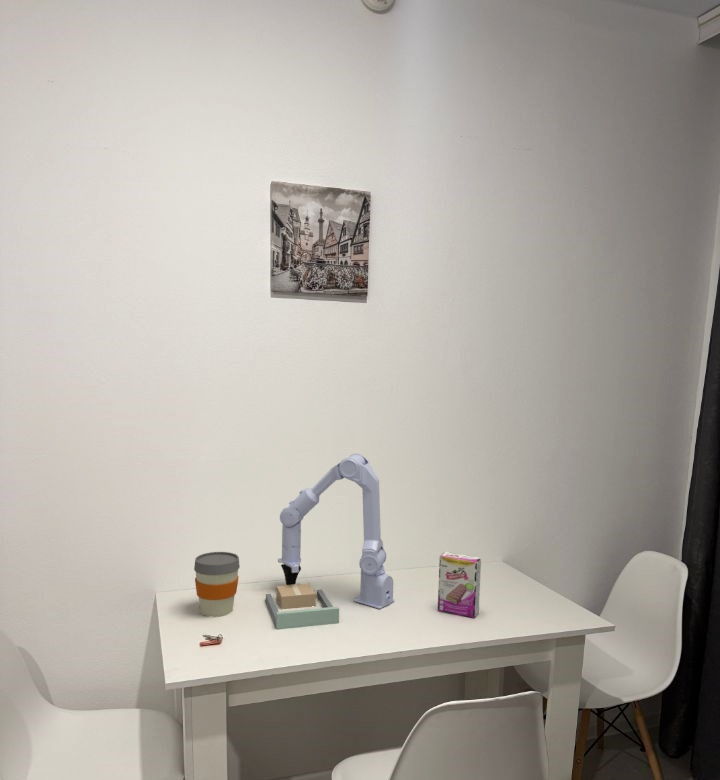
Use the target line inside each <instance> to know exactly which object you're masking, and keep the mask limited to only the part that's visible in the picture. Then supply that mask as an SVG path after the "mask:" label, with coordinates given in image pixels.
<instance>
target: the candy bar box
mask: <svg viewBox="0 0 720 780" xmlns="http://www.w3.org/2000/svg"><path fill="white" fill-rule="evenodd" d="M481 567H482V558H481V557H478V556H473V555H468V554H467V555H466V554H460V553H456V552H455V553H453V552H449V551H444V552H443V553H441V554H440V555H439V568H438V573H439V574H438V590H437V591H438V594H437V595H438V596H437V598H438V599H437V612H441V613H447V614H451V615H452V614H453V615H458V616H462V617H466V618H473V619H475V618H476V616H478V614H479V612H480V591H481V589H480V588H481V571H482V570H481Z"/></svg>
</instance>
